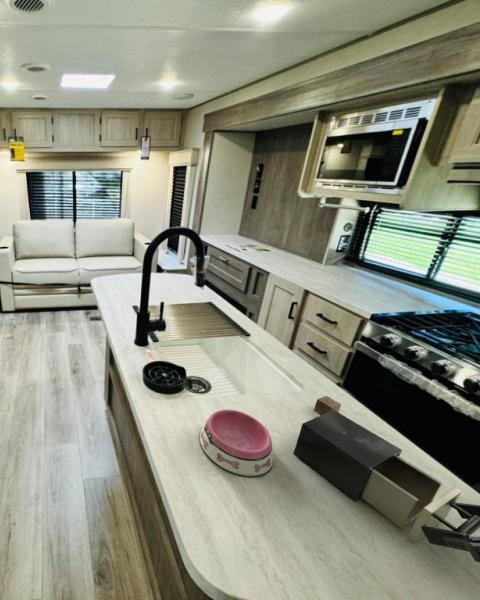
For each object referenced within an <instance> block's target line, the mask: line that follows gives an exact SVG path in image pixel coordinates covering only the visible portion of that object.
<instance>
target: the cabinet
mask: <svg viewBox="0 0 480 600" xmlns="http://www.w3.org/2000/svg"><path fill="white" fill-rule="evenodd" d="M402 451H403V450H402V449H401V448H399V447H398V446H397V445H394V444H392V443H391V442H390V441H388V440H386V439H384V438H383V437H381V436H379V435H378V434H376V433H374V432H372V431H371V430H369V429H368V428H366V427H364V426H362V425H360V424H359V423H357V422H355V421H354V420H352V419H351V418H349V417H347V416H346V415H343V414H341V413H340V412H337V411H335V410H333V411H330V412H328V413H326V414H323V415H321V414H320V415H319V416H316V417H314V418H312V419H309V420H307V421H305V422H302V424H301V428H300V431H299V434H298V437H297V440H296V443H295V447H294V449H293V455H294V456H295V457H296V458H297V459H299V460H300V461H301V462H303V464H305V465H306V466H308V467H309V468H310V469H311V470H313V471H314V473H317V474H318V475H319V476H320V477H322V478H323V479H324V480H326V481H327V482H328V483H329V484H331V485H332V486H333V487H335V488H336V489H337V490H338V491H340V492H341V493H342V494H343V495H345V496H346V497H347V498H348V499H350V500H351V501H352V502H354V503H356V502H358V501H359V500H361V499H362V498H361V497H360V496H359V495H360V492H361V490H362V488H363V486H364V483H365V481H366V479H367V477H368V474H369V472H370V470H371V469H373V468H375V467H376V466H378V465H380V464H382V463H383V462H385V461H387V460H389V459H390V458H392V457H394V456H396V455H397V456H399V457H401V454H402Z"/></svg>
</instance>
